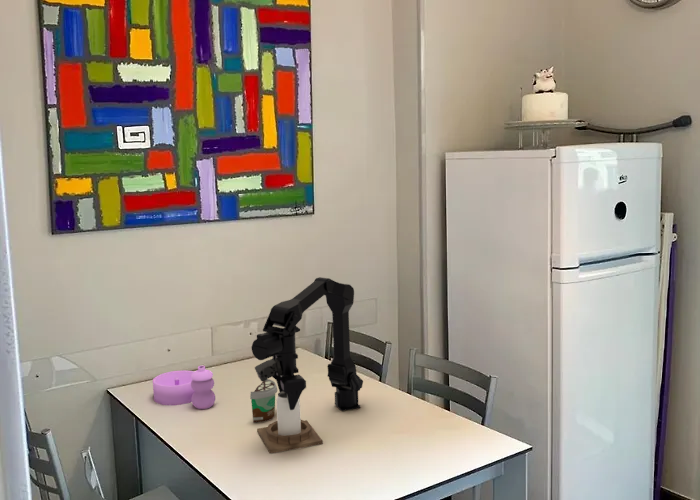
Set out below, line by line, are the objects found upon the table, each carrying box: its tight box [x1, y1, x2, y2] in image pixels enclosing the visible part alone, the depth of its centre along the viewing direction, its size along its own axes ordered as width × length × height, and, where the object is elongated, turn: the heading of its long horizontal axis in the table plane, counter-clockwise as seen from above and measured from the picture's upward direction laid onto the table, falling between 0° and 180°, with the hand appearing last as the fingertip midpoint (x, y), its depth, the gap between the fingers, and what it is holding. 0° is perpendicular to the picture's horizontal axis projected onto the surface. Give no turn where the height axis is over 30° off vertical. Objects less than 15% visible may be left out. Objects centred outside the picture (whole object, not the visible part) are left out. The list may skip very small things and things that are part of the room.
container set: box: [152, 365, 216, 410], centre depth 229 cm, size 25×15×13 cm, turn 50°
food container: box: [249, 378, 278, 424], centre depth 214 cm, size 12×6×10 cm, turn 168°
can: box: [276, 391, 302, 436], centre depth 198 cm, size 6×6×12 cm
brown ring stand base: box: [256, 419, 324, 454], centre depth 199 cm, size 15×15×3 cm
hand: (287, 403), depth 198 cm, fingers open, 9 cm apart
